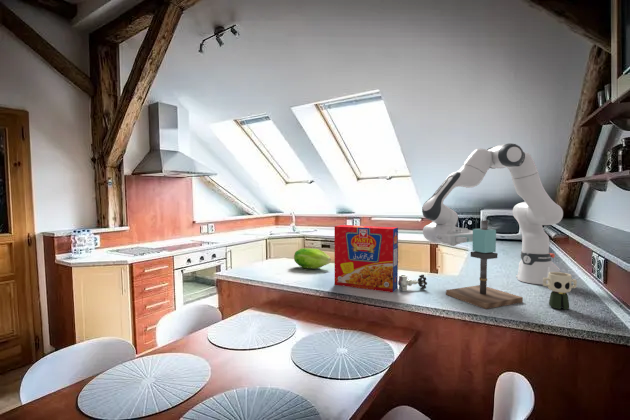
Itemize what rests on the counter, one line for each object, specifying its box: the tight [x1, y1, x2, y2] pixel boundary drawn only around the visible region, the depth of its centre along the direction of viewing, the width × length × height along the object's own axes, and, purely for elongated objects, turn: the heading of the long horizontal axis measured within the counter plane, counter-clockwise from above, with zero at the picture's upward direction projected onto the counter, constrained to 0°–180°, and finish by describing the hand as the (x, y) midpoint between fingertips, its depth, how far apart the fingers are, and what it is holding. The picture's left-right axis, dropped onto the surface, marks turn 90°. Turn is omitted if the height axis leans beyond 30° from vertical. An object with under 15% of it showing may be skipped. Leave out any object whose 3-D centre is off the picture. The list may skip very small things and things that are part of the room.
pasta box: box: [334, 224, 399, 293], centre depth 159 cm, size 28×8×28 cm, turn 62°
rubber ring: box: [470, 251, 498, 260], centre depth 140 cm, size 7×7×2 cm
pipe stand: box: [445, 220, 524, 310], centre depth 140 cm, size 20×20×32 cm
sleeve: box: [471, 228, 497, 253], centre depth 140 cm, size 6×6×9 cm
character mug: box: [542, 271, 578, 310], centre depth 128 cm, size 11×7×13 cm, turn 74°
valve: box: [398, 274, 428, 292], centre depth 154 cm, size 7×7×12 cm
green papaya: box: [293, 247, 332, 270], centre depth 198 cm, size 13×23×12 cm, turn 64°
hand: (476, 239), depth 143 cm, fingers open, 8 cm apart
